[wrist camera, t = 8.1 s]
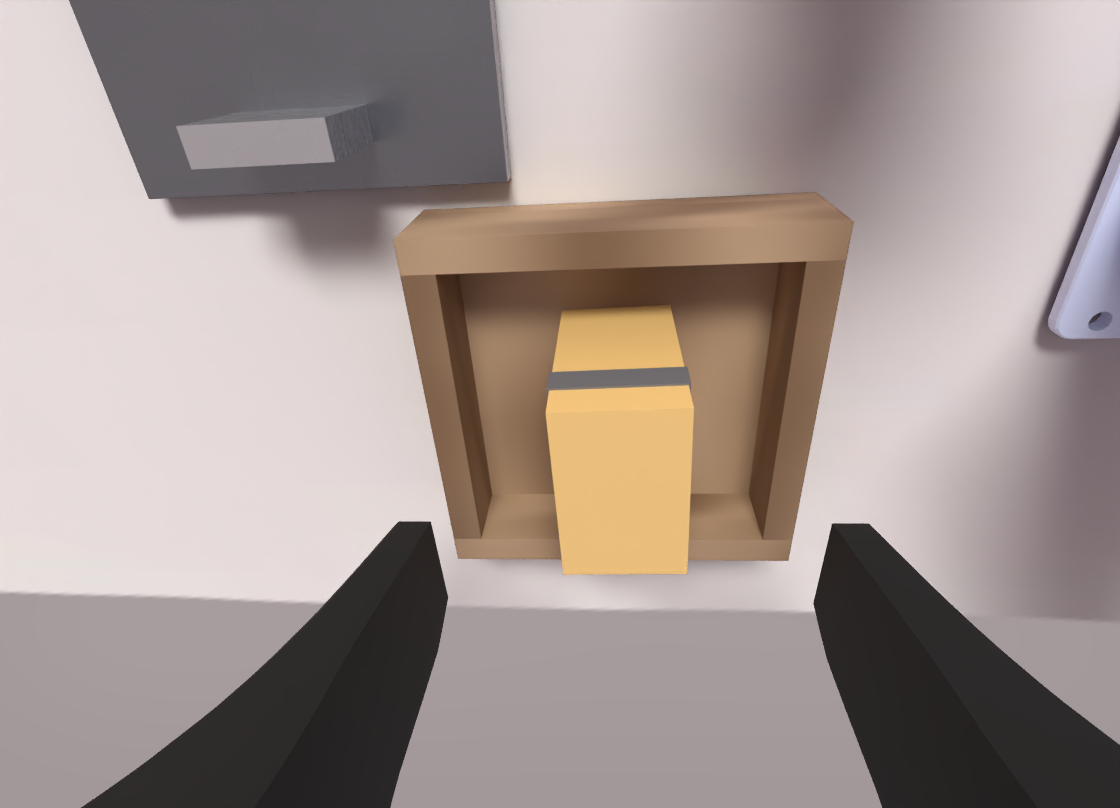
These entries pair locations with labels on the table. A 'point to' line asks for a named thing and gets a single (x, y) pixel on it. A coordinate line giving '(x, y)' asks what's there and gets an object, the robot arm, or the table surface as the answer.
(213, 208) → the table surface
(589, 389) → the block
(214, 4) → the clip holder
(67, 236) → the table surface
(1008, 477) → the table surface
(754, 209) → the tray
